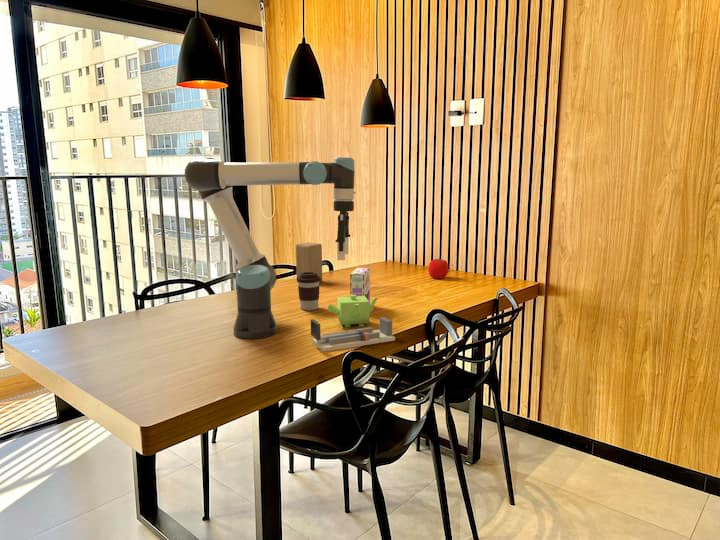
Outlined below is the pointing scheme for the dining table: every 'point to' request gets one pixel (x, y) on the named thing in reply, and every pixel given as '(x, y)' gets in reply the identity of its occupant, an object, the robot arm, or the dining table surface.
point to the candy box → (360, 282)
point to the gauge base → (359, 337)
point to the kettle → (353, 310)
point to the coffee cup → (308, 290)
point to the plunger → (325, 338)
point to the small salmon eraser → (366, 336)
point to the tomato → (438, 268)
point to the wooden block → (309, 258)
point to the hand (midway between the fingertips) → (343, 257)
